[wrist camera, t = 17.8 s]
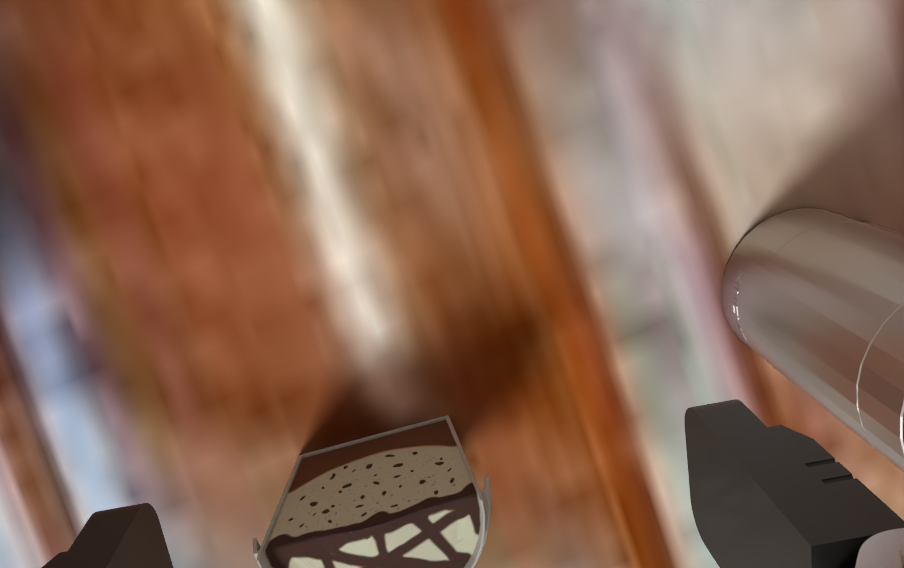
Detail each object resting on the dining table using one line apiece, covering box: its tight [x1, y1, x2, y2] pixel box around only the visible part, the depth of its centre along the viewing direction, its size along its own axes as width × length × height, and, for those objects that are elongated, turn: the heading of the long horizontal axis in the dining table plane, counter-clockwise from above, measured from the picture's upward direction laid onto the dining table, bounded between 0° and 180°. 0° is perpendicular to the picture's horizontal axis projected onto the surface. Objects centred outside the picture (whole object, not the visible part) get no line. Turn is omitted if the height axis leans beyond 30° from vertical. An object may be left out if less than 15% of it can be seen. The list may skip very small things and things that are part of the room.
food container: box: [253, 415, 491, 568], centre depth 44 cm, size 12×6×10 cm, turn 105°
